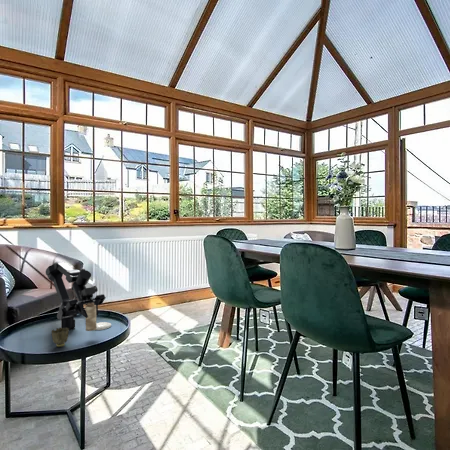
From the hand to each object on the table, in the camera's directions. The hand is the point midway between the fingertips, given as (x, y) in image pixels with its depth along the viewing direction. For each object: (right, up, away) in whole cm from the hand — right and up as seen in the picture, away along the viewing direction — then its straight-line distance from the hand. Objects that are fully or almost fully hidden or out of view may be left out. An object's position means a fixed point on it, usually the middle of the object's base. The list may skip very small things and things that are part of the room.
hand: (92, 316), depth 164 cm
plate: (-4, -12, +20) cm, 24 cm away
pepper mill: (-1, -7, +1) cm, 7 cm away
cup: (-12, -12, -8) cm, 19 cm away
